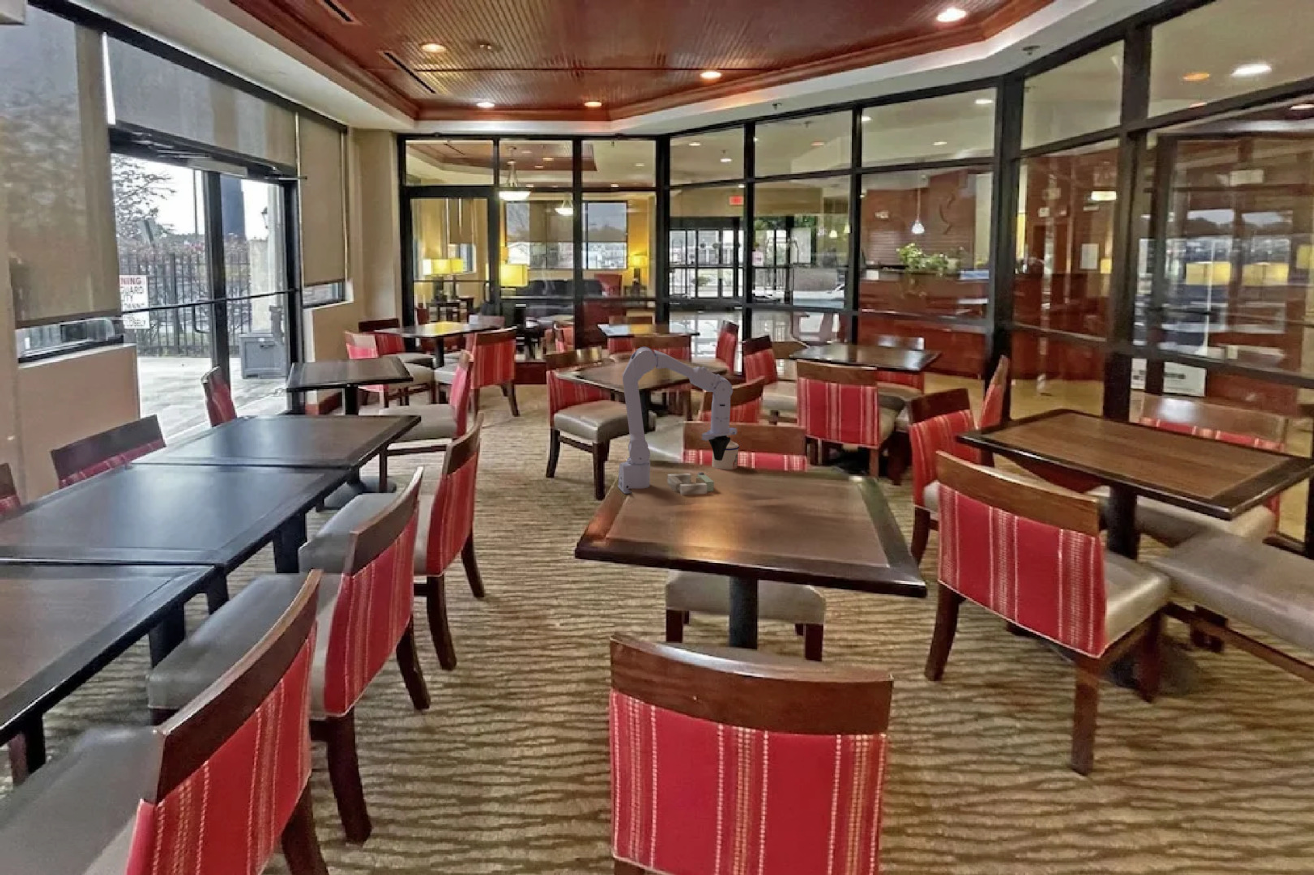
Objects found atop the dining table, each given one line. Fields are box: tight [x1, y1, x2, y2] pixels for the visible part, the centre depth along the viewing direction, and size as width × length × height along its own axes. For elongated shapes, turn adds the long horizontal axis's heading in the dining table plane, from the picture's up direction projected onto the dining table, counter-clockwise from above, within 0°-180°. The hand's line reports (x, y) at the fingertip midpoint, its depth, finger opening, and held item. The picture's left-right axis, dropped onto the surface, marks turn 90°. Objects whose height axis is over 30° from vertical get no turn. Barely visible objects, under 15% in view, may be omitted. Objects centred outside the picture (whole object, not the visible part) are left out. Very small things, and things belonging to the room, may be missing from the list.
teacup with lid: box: [711, 439, 740, 470], centre depth 306 cm, size 12×9×12 cm
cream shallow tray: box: [667, 472, 708, 496], centre depth 279 cm, size 14×14×4 cm
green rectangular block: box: [696, 471, 715, 492], centre depth 280 cm, size 2×10×3 cm, turn 16°
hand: (718, 459), depth 280 cm, fingers closed
